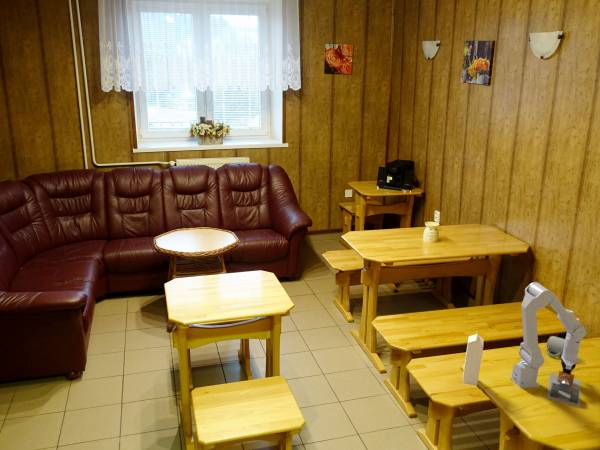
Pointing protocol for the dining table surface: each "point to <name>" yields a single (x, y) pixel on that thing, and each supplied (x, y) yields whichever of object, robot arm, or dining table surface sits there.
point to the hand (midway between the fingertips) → (565, 376)
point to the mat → (563, 396)
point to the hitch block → (565, 388)
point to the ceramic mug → (555, 346)
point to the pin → (565, 378)
